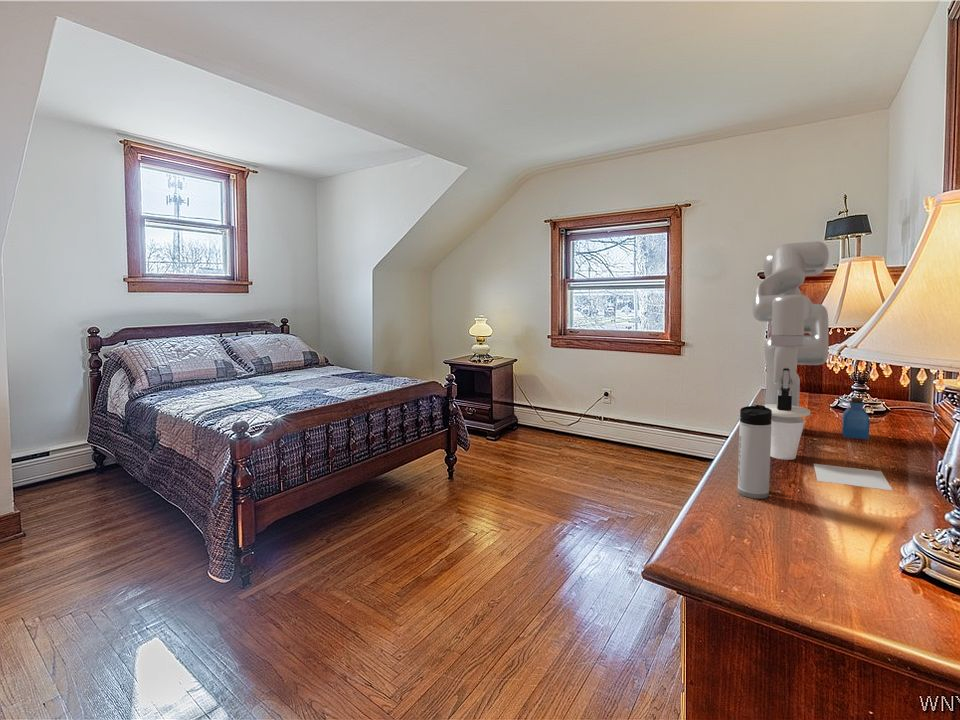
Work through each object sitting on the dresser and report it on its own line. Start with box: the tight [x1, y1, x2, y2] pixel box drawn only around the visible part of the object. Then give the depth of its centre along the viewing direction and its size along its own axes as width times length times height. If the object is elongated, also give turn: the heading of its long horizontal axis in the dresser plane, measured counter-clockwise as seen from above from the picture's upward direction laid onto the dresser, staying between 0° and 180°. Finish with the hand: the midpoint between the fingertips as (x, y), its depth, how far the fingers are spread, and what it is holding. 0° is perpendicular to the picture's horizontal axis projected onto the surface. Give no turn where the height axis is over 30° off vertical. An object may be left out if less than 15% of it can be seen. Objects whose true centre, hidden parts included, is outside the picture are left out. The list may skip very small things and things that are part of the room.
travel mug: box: [737, 404, 772, 500], centre depth 112 cm, size 6×7×20 cm
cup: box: [770, 416, 806, 461], centre depth 137 cm, size 10×10×11 cm
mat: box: [813, 463, 894, 491], centre depth 121 cm, size 14×14×1 cm
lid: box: [762, 390, 811, 418], centre depth 136 cm, size 12×12×6 cm
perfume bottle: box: [841, 397, 871, 440], centre depth 156 cm, size 6×6×12 cm
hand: (784, 407), depth 136 cm, fingers closed on lid, 3 cm apart
